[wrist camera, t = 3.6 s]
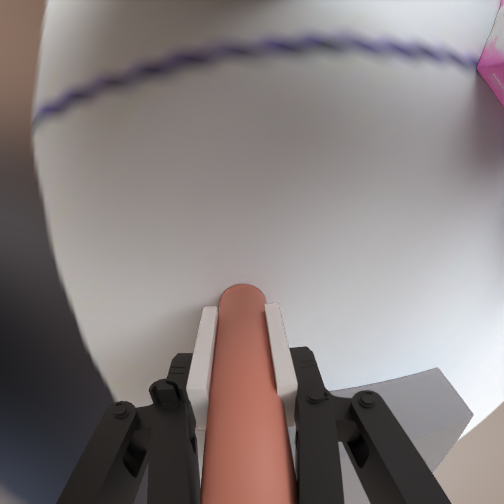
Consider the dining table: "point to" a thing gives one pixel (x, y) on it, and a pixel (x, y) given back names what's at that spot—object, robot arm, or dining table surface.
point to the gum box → (494, 57)
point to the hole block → (410, 421)
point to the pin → (245, 411)
